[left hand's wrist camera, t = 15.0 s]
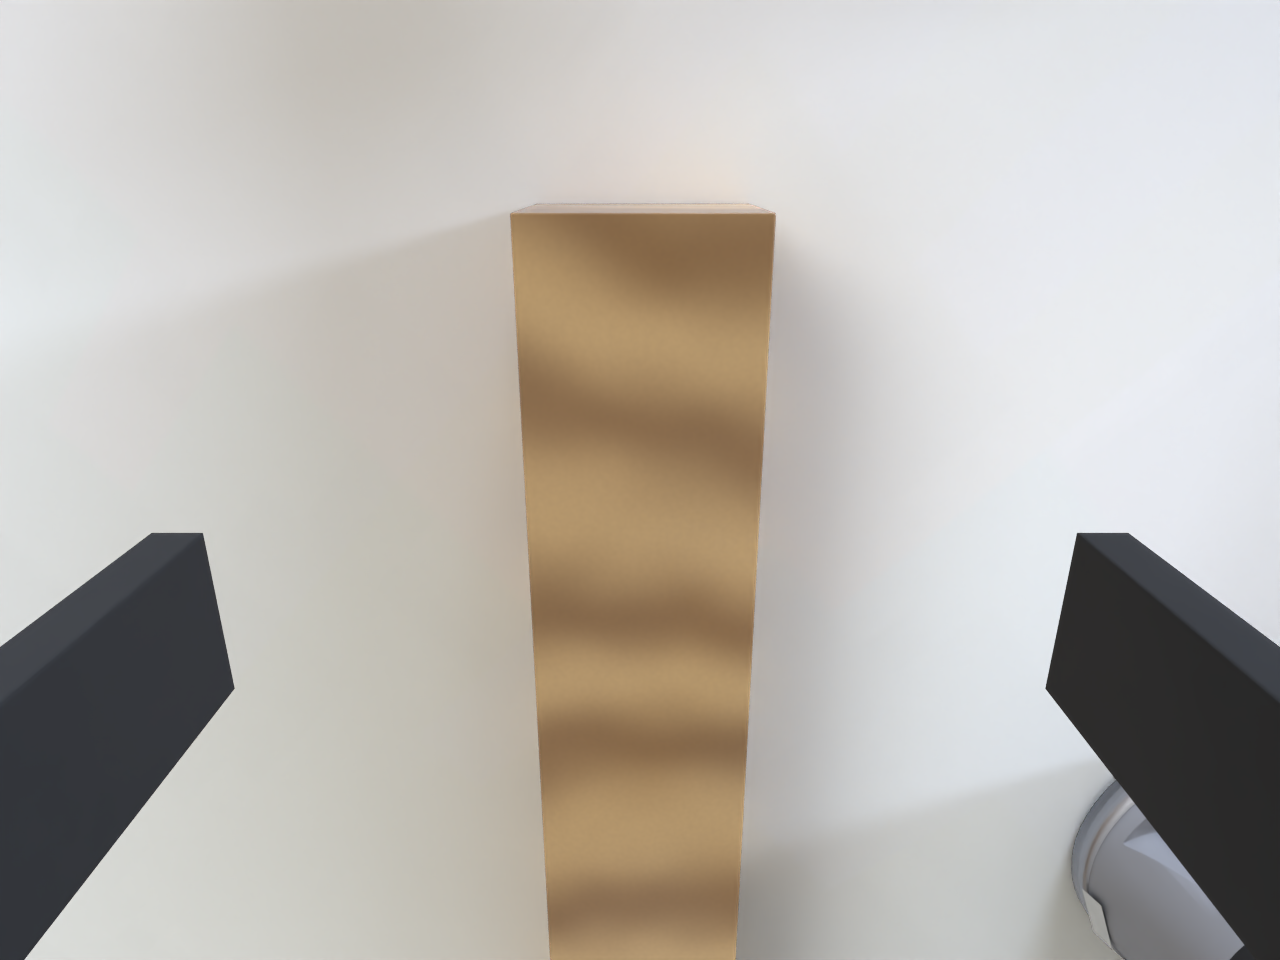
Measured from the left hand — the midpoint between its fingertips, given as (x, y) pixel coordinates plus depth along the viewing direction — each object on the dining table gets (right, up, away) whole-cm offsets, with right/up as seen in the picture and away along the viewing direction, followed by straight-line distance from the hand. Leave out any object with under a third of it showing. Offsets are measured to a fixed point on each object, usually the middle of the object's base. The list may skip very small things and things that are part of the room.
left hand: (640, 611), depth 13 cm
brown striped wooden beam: (0, -15, +31) cm, 34 cm away
